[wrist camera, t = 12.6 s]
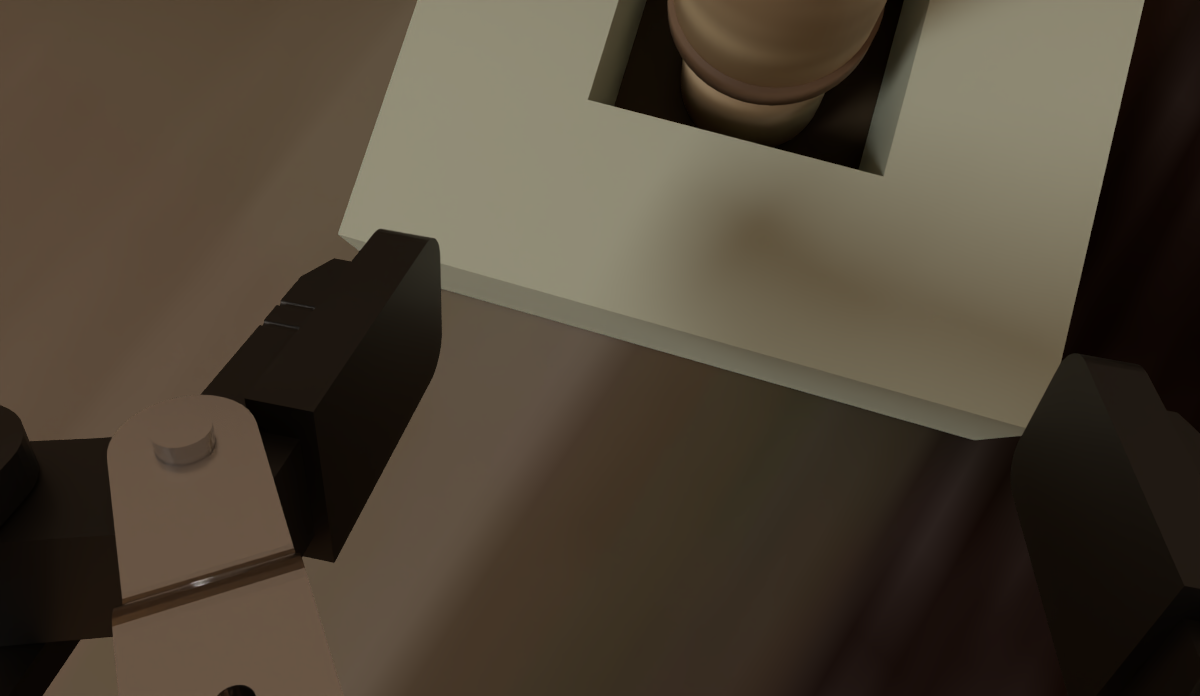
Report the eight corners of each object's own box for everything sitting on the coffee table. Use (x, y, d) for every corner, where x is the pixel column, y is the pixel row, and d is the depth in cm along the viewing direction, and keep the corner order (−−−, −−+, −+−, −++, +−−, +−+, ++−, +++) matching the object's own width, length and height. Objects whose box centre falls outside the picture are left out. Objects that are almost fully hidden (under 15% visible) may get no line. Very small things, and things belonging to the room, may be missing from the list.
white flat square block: (388, 273, 21) (338, 234, 17) (558, -238, 23) (543, -368, 19) (974, 439, 20) (1044, 433, 16) (1107, -116, 21) (1197, -229, 18)
